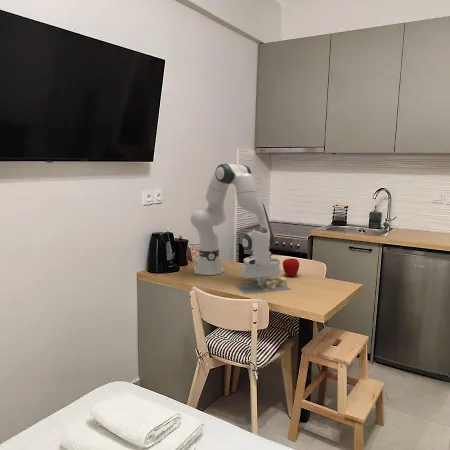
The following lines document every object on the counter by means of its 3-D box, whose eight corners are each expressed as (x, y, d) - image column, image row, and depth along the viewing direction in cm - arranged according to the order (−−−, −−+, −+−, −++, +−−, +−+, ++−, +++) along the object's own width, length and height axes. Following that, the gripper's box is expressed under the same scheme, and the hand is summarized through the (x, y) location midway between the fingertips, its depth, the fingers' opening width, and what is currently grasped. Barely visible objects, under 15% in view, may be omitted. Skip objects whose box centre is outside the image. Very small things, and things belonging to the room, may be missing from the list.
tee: (268, 290, 215) (268, 283, 214) (260, 284, 226) (260, 277, 226) (289, 288, 218) (290, 281, 217) (281, 282, 229) (281, 275, 229)
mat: (234, 286, 225) (234, 285, 225) (279, 282, 232) (279, 281, 232) (244, 295, 210) (244, 294, 209) (292, 291, 216) (292, 289, 216)
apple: (294, 273, 252) (294, 255, 251) (302, 277, 243) (302, 258, 242) (279, 274, 249) (279, 256, 248) (286, 278, 240) (287, 259, 239)
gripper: (277, 256, 224) (277, 282, 225) (240, 259, 218) (240, 285, 220) (282, 259, 218) (281, 285, 219) (244, 261, 212) (244, 288, 214)
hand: (260, 285), depth 220 cm, fingers closed
